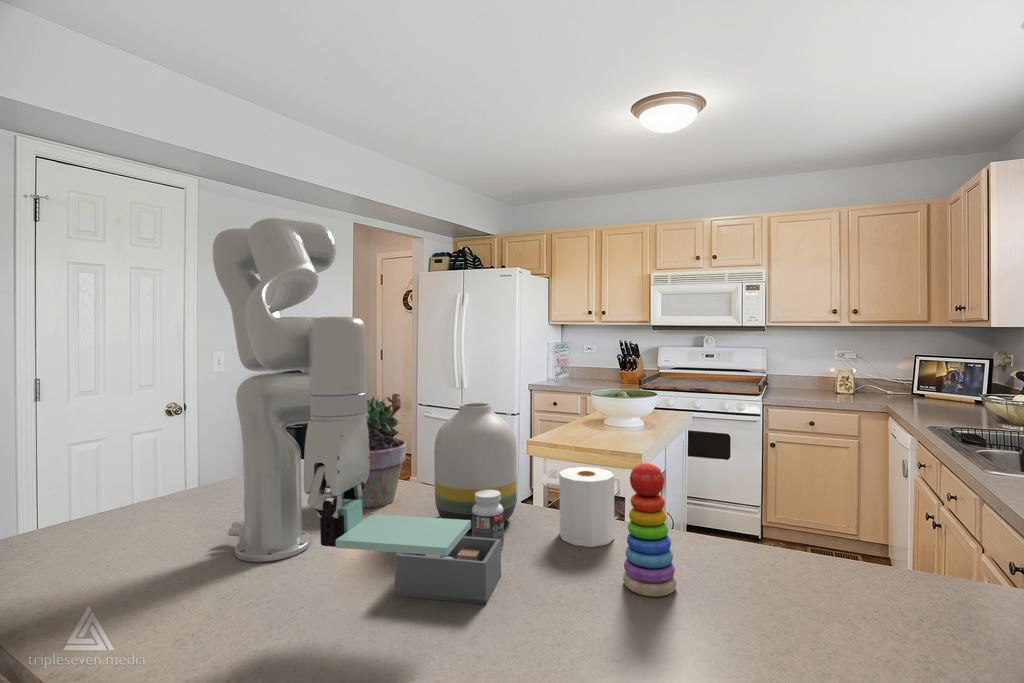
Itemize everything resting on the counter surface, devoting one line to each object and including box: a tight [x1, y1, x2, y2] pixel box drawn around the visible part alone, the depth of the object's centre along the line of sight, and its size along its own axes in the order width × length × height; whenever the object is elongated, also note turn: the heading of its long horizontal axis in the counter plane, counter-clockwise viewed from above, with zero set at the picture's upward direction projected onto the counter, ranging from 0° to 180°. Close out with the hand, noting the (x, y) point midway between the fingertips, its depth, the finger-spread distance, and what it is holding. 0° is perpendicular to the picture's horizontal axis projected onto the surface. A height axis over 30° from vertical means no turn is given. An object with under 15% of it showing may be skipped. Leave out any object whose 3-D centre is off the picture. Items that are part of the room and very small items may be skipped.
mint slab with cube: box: [330, 499, 471, 556], centre depth 72 cm, size 19×10×4 cm, turn 77°
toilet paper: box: [558, 466, 615, 548], centre depth 102 cm, size 10×10×12 cm
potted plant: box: [362, 393, 407, 509], centre depth 123 cm, size 18×20×25 cm
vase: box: [433, 402, 518, 530], centre depth 110 cm, size 17×17×24 cm
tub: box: [394, 535, 502, 606], centre depth 82 cm, size 14×9×6 cm, turn 77°
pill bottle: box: [471, 490, 505, 550], centre depth 97 cm, size 6×6×10 cm
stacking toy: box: [622, 462, 677, 598], centre depth 82 cm, size 8×8×19 cm
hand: (341, 537), depth 74 cm, fingers closed on mint slab with cube, 4 cm apart
